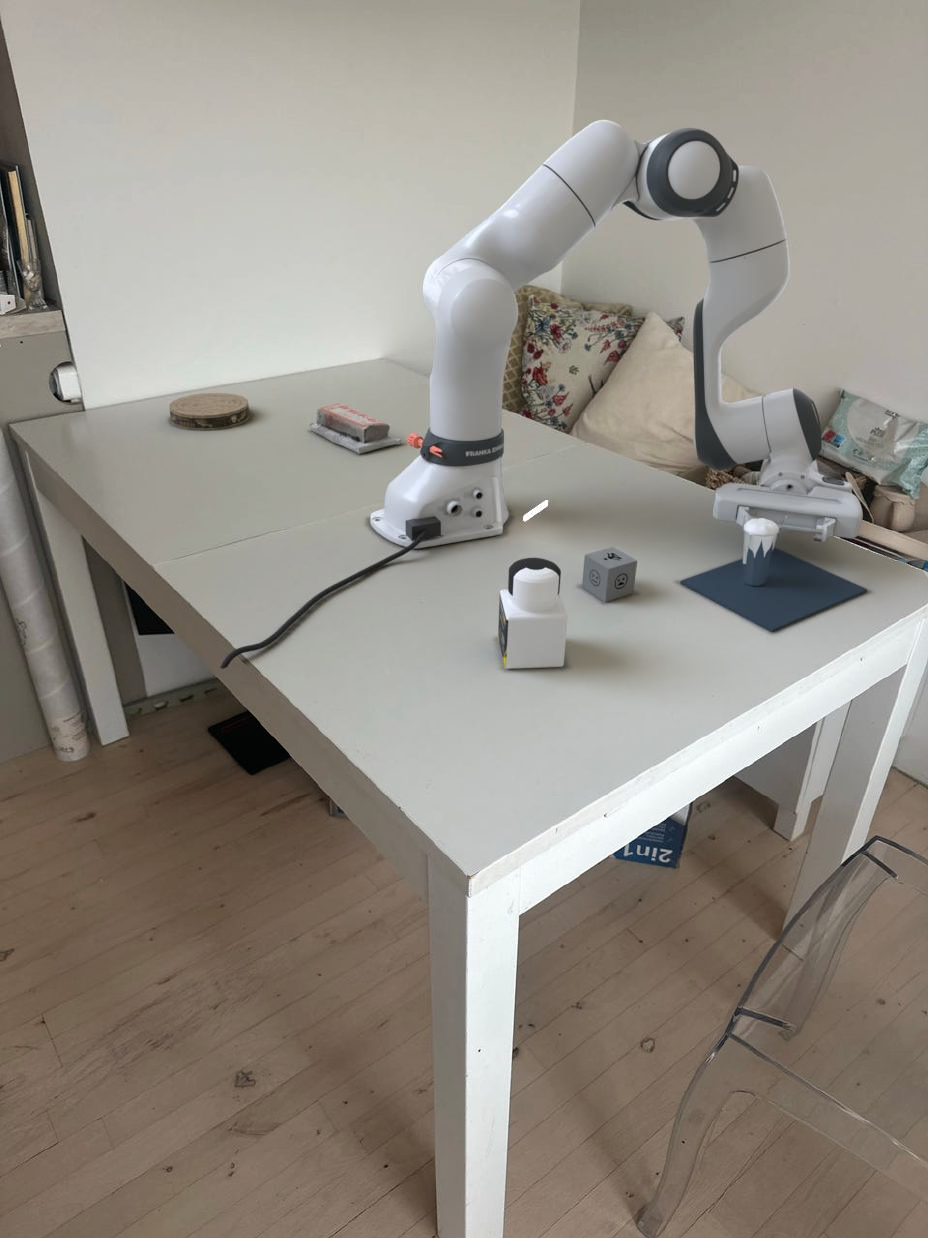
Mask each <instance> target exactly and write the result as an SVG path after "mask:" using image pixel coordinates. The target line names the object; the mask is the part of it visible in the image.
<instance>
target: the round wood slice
mask: <svg viewBox="0 0 928 1238" xmlns="http://www.w3.org/2000/svg"><path fill="white" fill-rule="evenodd" d="M168 408H169V415H170V421H171V423H172V424H173V425H174V426H175V427H178V428H180V429H183V430H184V429H185V430H192V431H213V430H214V431H216V430H223V429H229V428H233V427H236V426H239V425H242V424H244V423H246V422H247V421H248V420H249V419H250V416H251V415H250V406H249V400H248V399H247V398H246V397H244V396H242V395H239V394H234V393H227V392H205V393H197V394H190V395H186V396H182V397H180V398H177V399H174V400H173V401H172V402H170V404H169V406H168Z"/></svg>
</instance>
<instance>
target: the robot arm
mask: <svg viewBox="0 0 928 1238" xmlns="http://www.w3.org/2000/svg"><path fill="white" fill-rule="evenodd" d="M621 204H623V205H624V206H625V207H627V208H629V209H630V210H632V211H633V212H634V213H636V214H637V215H639V216H641V217H643V218H645V219H648V220H652V221H666V222H667V221H668V222H670V221H671V222H673V221H678V220H682V219H689V220H691V221H692V222H693V223H694V224H695V225H696V226H697V228H698V230H699V231H700V232H699V233H700V235H701V237H702V239H703V241H704V249H705V254H706V260H707V266H708V274H709V275H708V284H707V289H706V291H705V295H704V297H703V298H702V299H701V300H700V301H699V302H697V304H696V307H695V309H694V313H693V322H692V323H693V324H692V339H693V340H692V352H693V353H692V355H693V357H692V358H693V382H694V383H693V384H694V385H693V387H694V388H693V389H694V423H693V431H692V433H693V434H692V436H693V437H692V439H693V447H694V451H695V454H696V456H697V459H698V461H700V462H701V463H702V464H703V465H705V466H707V467H709V468H710V469H713V470H716V471H718V472H721V471H724V470H729V469H731V468H735V467H738V466H740V465H742V464H747V463H753V462H759V461H762V463H761V467H760V470H759V475H758V483H757V484H756V485H755V484H748V483H747V484H746V483H739V482H727V483H724V484H723V485H721V487H717V488H715V491H714V502H713V508H712V517H713V519H715V520H717V521H719V522H720V521H721V522H729V523H736V524H738V525H739V526H741V527H742V532H744V525H745V524H746V523H747V522H748V521H749V520H751V519H758V518H764V519H767V520H770V521H773V522H774V523H775V524H776V525H777V526H778V528H779V526H780V525H781V523H782V521H783V520H784V518H785V517H786V515H787V518H786V519H785V521H784V522H783V524H782V525H781V527H780V528H779V530H787V531H795V532H801V533H808V534H813V541H814V542H820V543H825V542H826V539H827V538H829V537H837V538H838V537H839V538H844V539H854V538H857V537H858V536H859V533H860V530H861V526H862V522H863V518H864V516H863V515H864V513H863V508H862V504H861V502H860V500H859V498H858V497H857V496H856V495H855V494H853V485H852V483H851V482H848V481H845V480H841V479H838V478H833V477H830V476H827V475H824V474H821V473H820V472H819V466H818V462H817V458H818V457H819V455H820V453H821V451H822V449H823V447H822V446H823V444H822V441H823V440H822V427H821V421H820V417H819V412H818V409H817V407H816V403H815V402H814V400H813V399H812V398H811V397H810V396H808V395H807V393H805V392H803V391H802V390H799V389H797V388H789V389H784V390H779V391H775V392H770V393H766V394H762V395H761V396H756V397H751V398H746V399H742V400H738V401H734V402H726V401H724V400H723V398H722V396H723V395H722V394H723V393H722V350H723V346H724V344H725V343H726V341H727V340H728V339H729V338H730V336H731V335H732V334H734V333H735V332H736V331H738V330H740V328H741V327H743V326H744V325H746V324H748V323H749V322H750V321H751V320H753V319H755V318H756V317H757V316H759V315H760V314H762V313H764V311H766V310H767V309H768V308H769V307H770V306H771V305H773V304H774V303H775V302H776V301H777V299H778V298H779V297H780V296H781V295H782V293H783V292H784V290H785V288H786V287H787V284H788V282H789V279H790V275H791V264H790V263H791V261H790V250H789V243H788V238H787V231H786V227H785V222H784V218H783V213H782V210H781V207H780V203H779V200H778V198H777V193H776V192H775V188H774V186H773V183H772V181H771V178H770V177H769V175H768V173H767V172H766V171H765V170H764V169H762V168H761V167H759V166H755V165H748V164H745V165H742V164H741V165H738V164H737V162H736V161H735V160H733V158H732V157H731V156H730V155H729V153H727V150H726V149H725V147H723V145H722V144H721V142H720V141H719V140H718V139H717V138H716V137H715V136H714V135H713V134H711V133H710V132H708V131H706V130H704V129H700V128H695V127H683V128H679V129H675V130H673V131H671V132H667V133H664V134H660V135H658V136H657V137H654V138H652V139H651V140H647V141H646V142H640V141H637V140H636V139H634V138H633V137H632V135H631V133H630V132H628V130H627V129H626V128H624V127H623V126H622V125H620V124H619V123H618V122H615V121H613V120H608V119H599V120H595V121H593V122H592V123H590V124H588V125H586V127H584V128H583V129H582V130H580V131H578V132H577V133H576V134H574V135H573V136H572V137H570V138H569V139H568V140H567V141H565V142H564V143H563V144H562V145H561V146H560V147H558V149H556V151H554V152H553V153H552V154H551V155H550V156H549V157H548V158H547V159H546V160H545V161H544V162H543V163H542V164H541V165H540V166H539V167H538V168H537V169H536V170H535V171H534V172H533V174H531V176H529V178H527V180H526V181H525V182H523V184H521V186H520V187H519V188H518V189H517V190H516V191H515V192H514V193H513V194H512V195H511V196H510V197H509V198H508V199H507V200H506V201H505V202H504V203H503V204H502V205H501V206H500V207H499V208H498V209H497V210H496V211H495V212H493V213H492V214H491V215H490V216H488V217H487V218H486V219H485V220H483V221H482V222H480V223H479V224H478V225H477V226H475V227H474V228H473V229H472V230H471V231H469V232H468V233H467V234H465V236H463V237H462V238H461V239H460V240H458V241H457V242H456V243H455V244H454V245H453V246H451V248H449V249H448V250H447V251H446V252H445V253H443V254H441V256H439V257H437V258H436V259H434V261H432V263H431V264H430V265H429V266H428V268H427V270H426V272H425V274H424V279H423V282H422V298H423V302H424V306H425V308H426V311H427V313H429V315H430V316H431V317H432V318H433V321H434V325H435V345H434V355H433V362H432V369H431V373H430V376H429V427H428V428H427V430H426V434H425V435H424V437H423V436H421V435H419V434H417V433H416V432H411V433H409V435H408V436H407V439H406V441H407V442H406V443H407V444H408V445H409V446H411V447H413V448H414V449H420V450H419V455H418V456H417V457H416V458H415V459H414V460H413V461H411V463H410V464H408V465H407V467H405V469H404V470H402V471H401V472H400V473H399V474H398V475H397V476H395V478H394V479H393V480H392V481H390V482H389V484H388V485H387V488H386V491H385V495H384V502H383V508H381V509H378V510H376V511H373V512H371V514H370V517H369V518H370V520H369V522H370V526H371V527H372V528H373V530H374V531H375V532H376V533H377V534H379V535H380V536H382V537H383V538H385V539H386V540H388V541H389V542H391V543H394V544H396V545H398V546H401V547H404V548H403V549H401V550H399V551H397V552H395V553H393V554H391V555H389V556H387V557H385V558H383V559H381V560H379V561H378V562H376V563H373V564H371V565H369V566H368V567H366V568H363V569H361V570H359V571H358V572H356V573H354V574H352V575H350V576H348V577H346V578H344V579H341V580H339V581H337V582H336V583H334V584H332V585H330V586H328V587H327V588H325V589H323V590H322V591H320V592H319V593H317V594H315V596H313V597H311V599H310V600H308V601H307V602H306V603H305V604H304V605H303V606H302V607H300V608H299V609H298V610H297V611H296V612H295V613H294V614H293V615H291V617H289V618H288V619H287V621H285V622H284V623H283V624H282V625H281V626H280V627H279V628H278V629H277V630H275V632H274V633H273V634H271V635H270V636H269V637H267V638H265V639H264V640H262V641H260V642H257V643H253V644H249V645H244V646H241V647H238V648H236V649H234V650H232V651H231V652H230V653H228V655H226V657H225V658H224V659H223V660H222V663H221V664H220V669H222V670H223V669H227V668H228V666H229V665H230V664H231V662H232V661H233V660H234V659H235V658H236V657H237V656H240V655H242V654H245V653H249V652H254V651H258V650H262V649H263V648H265V647H268V646H269V645H271V644H272V643H274V642H275V641H276V640H278V639H279V638H280V637H281V636H282V635H283V634H284V633H285V632H286V631H287V630H288V629H289V628H290V627H291V626H292V625H293V624H294V623H295V622H296V621H297V620H299V619H300V618H301V617H302V616H303V615H304V614H305V613H306V612H308V611H309V609H310V608H312V606H314V605H315V604H316V603H317V602H319V601H320V600H322V599H323V598H324V597H326V596H327V595H330V594H331V593H333V592H334V591H336V590H338V589H340V588H342V587H344V586H346V585H348V584H350V583H352V582H354V581H356V580H357V579H359V578H361V577H363V576H365V575H367V574H369V573H371V572H373V571H375V570H377V569H379V568H381V567H383V566H385V565H387V564H388V563H390V562H392V561H394V560H396V559H398V558H400V557H403V556H405V555H406V554H408V553H409V552H411V551H412V550H413V549H415V550H416V549H423V548H429V547H435V546H440V545H446V544H452V543H458V542H466V541H470V540H476V539H481V538H489V537H494V536H498V535H499V536H500V535H502V534H503V533H504V524H505V523H506V522H507V521H508V520H509V517H510V513H509V509H508V506H507V501H506V497H505V491H504V485H503V472H502V471H503V469H502V459H503V455H504V452H505V430H504V429H503V428H502V427H503V425H502V423H503V399H504V398H503V397H504V379H505V374H506V368H507V367H506V366H507V363H508V357H509V353H510V348H511V343H512V336H513V333H514V331H515V330H516V327H517V324H518V320H519V306H518V305H519V304H518V300H517V296H516V293H517V292H518V291H520V290H521V289H523V288H524V287H525V286H526V285H528V284H530V283H531V282H532V281H534V280H536V279H537V278H539V277H540V276H542V275H544V274H546V273H548V272H550V271H552V270H554V269H555V268H556V267H557V266H558V265H559V264H560V263H561V262H562V261H563V260H564V259H565V258H566V257H567V256H568V255H569V254H570V253H571V252H572V251H573V250H574V249H575V248H576V247H577V246H578V245H579V244H580V243H581V242H582V241H583V240H584V239H585V238H586V237H587V236H588V235H589V234H590V233H591V232H592V231H593V230H594V229H595V228H596V227H597V226H598V225H599V224H600V222H602V221H603V219H604V218H605V217H606V216H607V215H608V214H610V212H611V211H613V210H614V209H615V208H617V207H618V206H619V205H621ZM548 502H549V500H545V501H542V503H540V504H539V505H537V506H535V508H533V509H531V510H530V511H529V512H527V513H526V514H524V515H523V521H524V522H526V521H528V520H529V519H530V518H532V517H533V516H534V515H536V514H537V513H540V512H541V511H543V509H545V508H546V507H548V505H549V504H548Z"/></svg>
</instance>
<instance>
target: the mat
mask: <svg viewBox="0 0 928 1238" xmlns="http://www.w3.org/2000/svg"><path fill="white" fill-rule="evenodd" d="M742 568H743V558H740V559H738V560H735V561H732V562H729V563H726V564H724V565H721V566H718V567H715V568H713V569H710V570H707V571H704V572H701V573H699V574H696V575H693V576H690V577H687V578H685V579H682V580H680V582H679V584H680V585H683V586H684V587H686V588H688V589H690V590H693V591H694V592H696V593H698V594H699V595H701V596H703V597H705V598H707V599H709V600H711V601H713V602H715V603H716V604H718V605H720V606H722V607H724V608H726V609H728V610H730V611H731V612H733V613H735V614H737V615H739V616H741V617H743V618H745V619H746V620H748V621H750V622H752V623H754V624H755V625H757V626H760V627H762V628H764V629H765V630H767V631H769V632H771V633H773V632H776V631H778V630H780V629H783V628H784V627H787V626H790V625H792V624H794V623H796V622H799V621H801V620H803V619H807V618H809V617H810V616H813V615H816V614H818V613H820V612H822V611H825V610H827V609H829V608H832V607H834V606H837V605H839V604H841V603H844V602H846V601H848V600H850V599H853V598H855V597H857V596H860V595H863V594H864V593H866V592H868V589H867V588H865V587H864V586H861V585H859V584H857V583H855V582H852V581H850V580H848V579H845V578H843V577H841V576H838V575H836V574H835V573H832V572H830V571H827V570H826V569H823V568H821V567H819V566H817V565H814V564H812V563H810V562H807V561H805V560H803V559H801V558H798V557H797V556H794V555H793V554H789V553H788V552H785V551H783V550H781V549H778V548H776V547H774V551H773V555H772V559H771V564H770V568H769V572H768V577H767V581H766V583H765V584H764V585H761V586H751V585H748V584H745V583H744V582H743V581H742Z"/></svg>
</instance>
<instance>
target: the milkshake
mask: <svg viewBox="0 0 928 1238" xmlns="http://www.w3.org/2000/svg"><path fill="white" fill-rule="evenodd" d="M786 518H787V515H786V517H785V518H784V520H783V521H782V523H781V525H782V524H783V522H784V521H785V519H786ZM781 525H780V526H779V528H780V527H781ZM779 528H778V526H777V525H776V524H775V523H774V522H773V521H770V520H767V519H764V518H758V519H751V520H749V521H748V522H747V523H746V524H745V525H744V531H743V546H742V547H743V548H742V549H743V550H742V559H743V568H742V581H743V582H744V583H745V584H748V585H751V586H761V585H764V584H765V583H766V581H767V577H768V572H769V568H770V564H771V559H772V555H773V551H774V548H776V547H775V546H776V542H777V539H778V535H779V531H780V529H779Z"/></svg>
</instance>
